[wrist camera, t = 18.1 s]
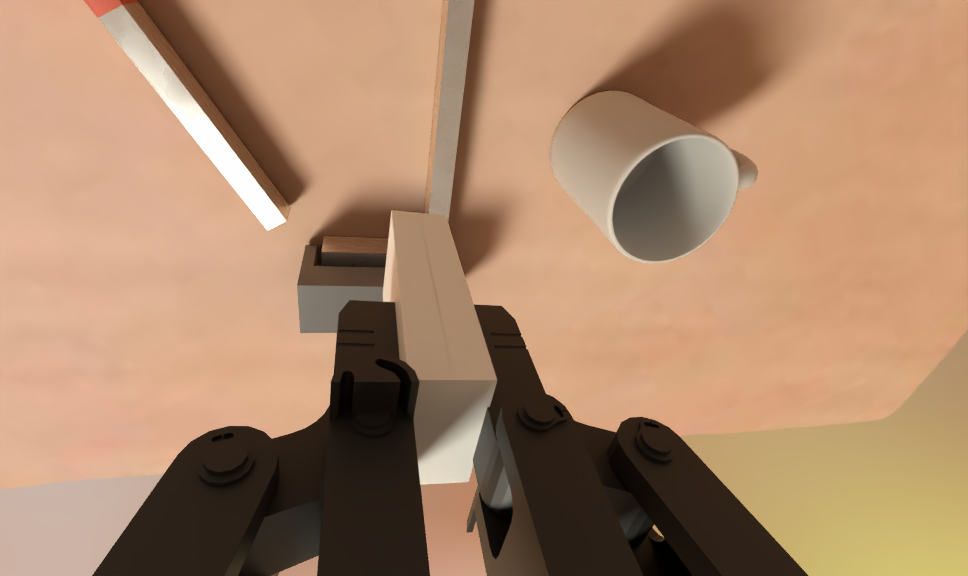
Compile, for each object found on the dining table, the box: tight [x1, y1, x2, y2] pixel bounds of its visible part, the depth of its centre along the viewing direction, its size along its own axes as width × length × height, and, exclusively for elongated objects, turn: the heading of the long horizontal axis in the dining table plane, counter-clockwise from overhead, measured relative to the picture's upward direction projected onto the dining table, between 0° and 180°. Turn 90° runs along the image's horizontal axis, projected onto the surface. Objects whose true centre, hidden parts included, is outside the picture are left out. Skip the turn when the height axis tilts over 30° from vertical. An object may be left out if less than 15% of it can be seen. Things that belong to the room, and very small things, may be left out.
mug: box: [550, 91, 758, 263], centre depth 33 cm, size 12×8×11 cm
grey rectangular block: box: [297, 245, 385, 333], centre depth 37 cm, size 4×12×6 cm, turn 81°
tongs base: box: [321, 0, 475, 268], centre depth 33 cm, size 28×9×3 cm, turn 171°
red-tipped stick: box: [84, 0, 291, 230], centre depth 29 cm, size 17×2×2 cm, turn 22°
